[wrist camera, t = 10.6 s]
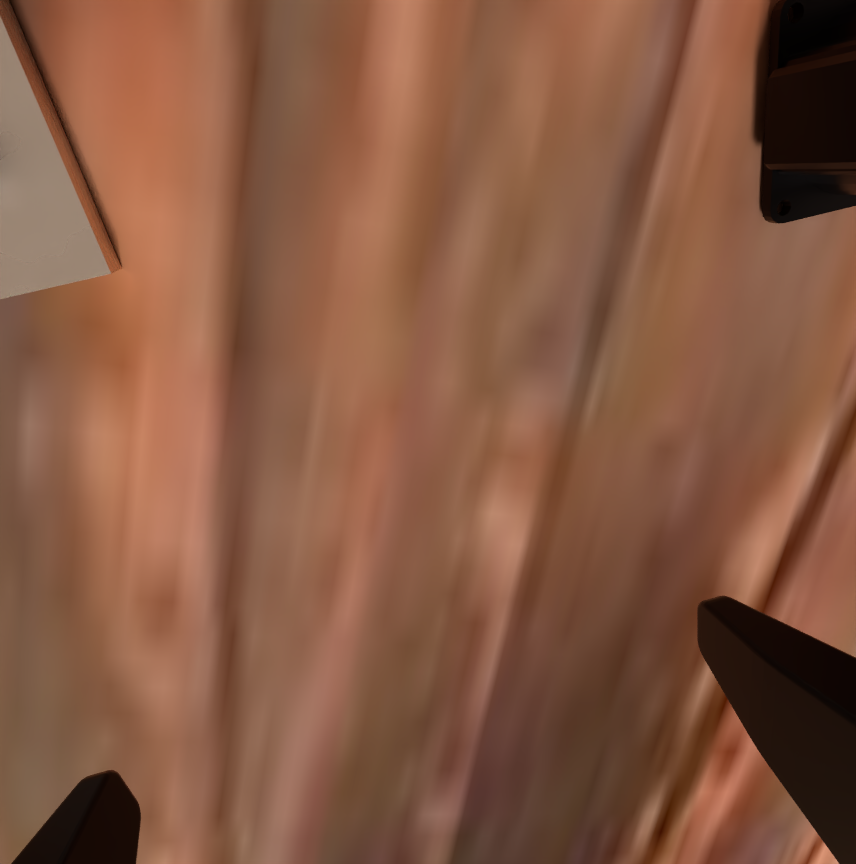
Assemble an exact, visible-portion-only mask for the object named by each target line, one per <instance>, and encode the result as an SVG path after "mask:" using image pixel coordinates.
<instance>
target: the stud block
mask: <svg viewBox="0 0 856 864" xmlns="http://www.w3.org/2000/svg"><path fill="white" fill-rule="evenodd" d="M120 269H122V267H121V265H120V263H119V260H118V258H117V255H116V253H115V251H114V248H113V246H112V244H111V241H110V239H109V236H108V234H107V232H106V229H105V227H104V225H103V222H102V220H101V217H100V215H99V213H98V210H97V208H96V206H95V203H94V201H93V198H92V196H91V194H90V191H89V189H88V187H87V184H86V182H85V179H84V177H83V175H82V172H81V170H80V168H79V165H78V163H77V160H76V158H75V156H74V153H73V151H72V149H71V146H70V144H69V141H68V139H67V137H66V134H65V132H64V130H63V127H62V125H61V122H60V120H59V118H58V115H57V113H56V111H55V108H54V106H53V103H52V101H51V99H50V96H49V94H48V92H47V89H46V87H45V84H44V82H43V80H42V77H41V75H40V73H39V70H38V68H37V65H36V63H35V61H34V58H33V56H32V54H31V51H30V49H29V46H28V44H27V42H26V39H25V37H24V35H23V32H22V30H21V27H20V25H19V23H18V20H17V18H16V16H15V13H14V11H13V8H12V6H11V4H10V1H9V0H0V299H3V298H7V297H12V296H16V295H20V294H25V293H29V292H33V291H38V290H42V289H46V288H51V287H55V286H59V285H64V284H68V283H72V282H77V281H81V280H86V279H90V278H94V277H99V276H103V275H107V274H111V273H113V272H116V271H118V270H120Z"/></svg>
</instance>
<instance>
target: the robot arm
mask: <svg viewBox="0 0 856 864" xmlns="http://www.w3.org/2000/svg"><path fill="white" fill-rule="evenodd" d="M790 7H791V8H792V9H793V11H794V17H793V20H792V22H790V21H789V20H788V12H789V9H790ZM781 201H782V204H783V207H782V210H781V211H780V212H779V213H777V207H778V205H779V203H780V202H781ZM852 206H856V0H780V1H779V2H778V3H777V4H776V6H775V7H774V9H773V11H772V16H771V26H770V48H769V70H768V81H767V97H766V119H765V142H764V181H763V203H762V213H763V217H764V218H765V220H766V221H768V222H771V223H786V222H790V221H794V220H798V219H803V218H807V217H811V216H815V215H819V214H823V213H827V212H831V211H836V210H840V209H844V208H848V207H852ZM698 645H699V648H700V651H701V653H702V655H703V657H704V659H705V661H706V662H707V664H708V666H709V668H710V669H711V671H712V673H713V674H714V676H715V678H716V680H717V681H718V683H719V685H720V686H721V688H722V690H723V692H724V693H725V695H726V697H727V698H728V700H729V702H730V704H731V705H732V707H733V709H734V710H735V712H736V714H737V716H738V717H739V719H740V721H741V722H742V724H743V726H744V728H745V729H746V731H747V733H748V734H749V736H750V738H751V739H752V741H753V743H754V744H755V746H756V747H757V749H758V751H759V752H760V753H761V755H762V756H763V758H764V759H765V761H766V762H767V764H768V765H769V767H770V768H771V769H772V771H773V772H774V773H775V775H776V776H777V778H778V779H779V780H780V782H781V783H782V785H783V786H784V787H785V789H786V790H787V792H788V793H789V794H790V796H791V797H792V798H793V800H794V801H795V803H796V804H797V805H798V807H799V808H800V810H801V811H802V812H803V814H804V815H805V817H806V818H807V819H808V821H809V822H810V823H811V825H812V826H813V828H814V829H815V830H816V832H817V833H818V835H819V836H820V837H821V839H822V840H823V842H824V843H825V844H826V846H827V847H828V848H829V850H830V851H831V853H832V854H833V855H834V857H835V858H836V860H837V861H838V862H839V864H856V657H854V656H851V655H849V654H847V653H845V652H843V651H841V650H839V649H837V648H835V647H833V646H831V645H828V644H826V643H824V642H822V641H820V640H818V639H816V638H814V637H812V636H810V635H808V634H805V633H803V632H801V631H799V630H797V629H795V628H793V627H791V626H789V625H787V624H785V623H783V622H780V621H778V620H776V619H774V618H772V617H770V616H768V615H766V614H764V613H762V612H760V611H757V610H755V609H753V608H751V607H749V606H747V605H745V604H743V603H741V602H739V601H737V600H735V599H732V598H730V597H727V596H718V597H715V598H711V599H708V600H704V601H702V602H700V604H699V605H698ZM140 821H141V813H140V807H139V804H138V802H137V800H136V798H135V797H134V795H133V794H132V792H131V791H130V789H129V788H128V786H127V785H126V784H125V782H124V781H123V779H122V778H121V776H120V775H119V773H118V772H116V771H114V770H108V771H104V772H101V773H97V774H94V775H90V776H87V777H85V778H84V779H82V780H81V781H80V782H79V783H78V784H77V785H76V787H75V788H74V789H73V790H72V791H71V793H70V794H69V795H68V796H67V797H66V799H65V800H64V801H63V802H62V803H61V805H60V806H59V807H58V808H57V809H56V811H55V812H54V813H53V814H52V815H51V817H50V818H49V819H48V820H47V821H46V823H45V824H44V825H43V826H42V827H41V829H40V830H39V831H38V832H37V833H36V835H35V836H34V837H33V838H32V839H31V841H30V842H29V843H28V844H27V845H26V847H25V848H24V849H23V850H22V851H21V853H20V854H19V855H18V856H17V857H16V859H15V860H14V861H13V862H12V863H11V864H136V858H137V849H138V840H139V831H140Z"/></svg>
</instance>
